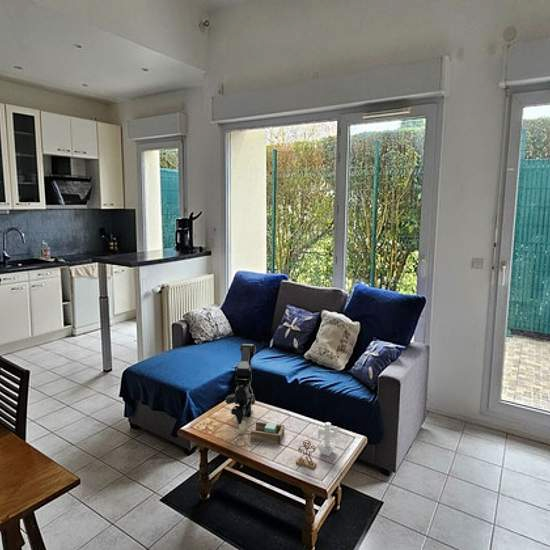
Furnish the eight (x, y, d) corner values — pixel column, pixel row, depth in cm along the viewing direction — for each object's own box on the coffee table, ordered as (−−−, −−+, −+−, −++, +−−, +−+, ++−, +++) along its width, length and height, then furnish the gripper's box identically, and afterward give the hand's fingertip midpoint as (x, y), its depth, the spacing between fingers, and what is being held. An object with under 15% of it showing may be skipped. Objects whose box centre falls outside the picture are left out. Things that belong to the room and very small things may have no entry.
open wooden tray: (256, 429, 220) (256, 421, 219) (284, 433, 216) (284, 425, 216) (250, 439, 210) (250, 431, 209) (279, 444, 206) (280, 435, 206)
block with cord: (240, 429, 219) (240, 418, 218) (276, 435, 214) (276, 424, 213) (237, 434, 214) (237, 423, 213) (274, 440, 210) (274, 429, 209)
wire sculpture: (295, 463, 191) (296, 439, 189) (298, 459, 194) (299, 435, 192) (313, 469, 187) (314, 444, 185) (316, 465, 190) (317, 440, 188)
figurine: (320, 445, 206) (321, 417, 203) (338, 451, 201) (340, 422, 199) (314, 453, 200) (315, 423, 197) (333, 459, 195) (334, 429, 193)
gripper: (233, 381, 223) (233, 409, 226) (221, 396, 205) (221, 426, 208) (253, 384, 221) (253, 412, 223) (243, 399, 203) (242, 429, 205)
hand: (242, 419), depth 215 cm, fingers open, 9 cm apart
